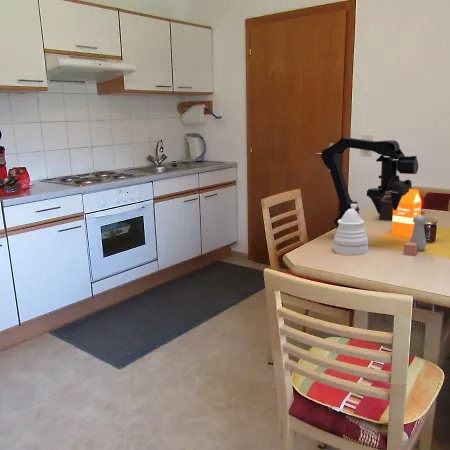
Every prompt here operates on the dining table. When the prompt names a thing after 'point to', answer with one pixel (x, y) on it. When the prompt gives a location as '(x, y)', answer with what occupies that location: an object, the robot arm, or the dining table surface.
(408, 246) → the cube
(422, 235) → the salt shaker
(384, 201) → the coffee grinder
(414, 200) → the orange juice
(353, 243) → the honey pot
